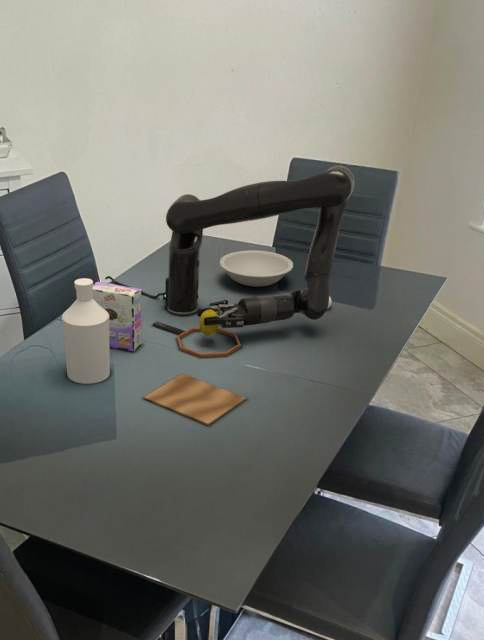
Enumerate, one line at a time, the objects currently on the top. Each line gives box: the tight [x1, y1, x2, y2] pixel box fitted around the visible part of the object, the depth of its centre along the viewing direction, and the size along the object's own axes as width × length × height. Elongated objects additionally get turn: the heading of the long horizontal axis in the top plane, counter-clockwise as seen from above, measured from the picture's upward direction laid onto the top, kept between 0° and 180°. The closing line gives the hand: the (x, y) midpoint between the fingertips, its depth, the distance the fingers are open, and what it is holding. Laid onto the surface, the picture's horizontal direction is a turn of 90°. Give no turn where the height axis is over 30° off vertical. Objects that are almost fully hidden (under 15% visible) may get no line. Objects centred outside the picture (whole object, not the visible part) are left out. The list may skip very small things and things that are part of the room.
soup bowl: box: [219, 249, 294, 288], centre depth 244 cm, size 24×24×7 cm
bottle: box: [61, 277, 111, 385], centre depth 189 cm, size 12×12×25 cm
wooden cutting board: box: [143, 373, 247, 426], centre depth 186 cm, size 20×16×1 cm
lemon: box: [198, 309, 220, 337], centre depth 207 cm, size 6×6×8 cm
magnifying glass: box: [152, 321, 242, 358], centre depth 213 cm, size 28×17×1 cm, turn 50°
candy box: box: [92, 281, 143, 352], centre depth 205 cm, size 14×6×16 cm, turn 65°
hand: (200, 317), depth 205 cm, fingers closed on lemon, 5 cm apart
